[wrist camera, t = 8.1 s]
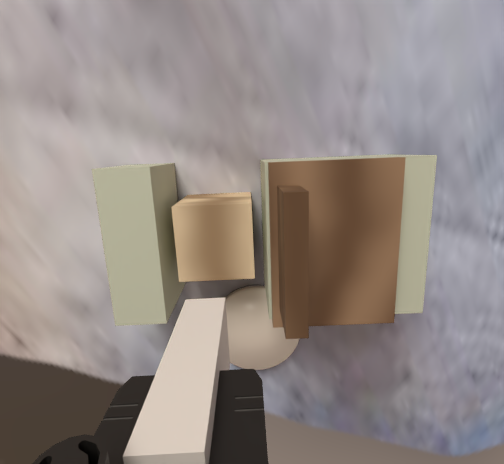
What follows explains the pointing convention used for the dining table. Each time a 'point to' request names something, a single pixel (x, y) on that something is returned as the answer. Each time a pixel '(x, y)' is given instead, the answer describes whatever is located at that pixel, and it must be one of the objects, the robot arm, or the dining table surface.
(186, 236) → the maple block
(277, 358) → the cream coaster
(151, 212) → the pale green split block
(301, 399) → the dining table surface
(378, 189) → the walnut cover
